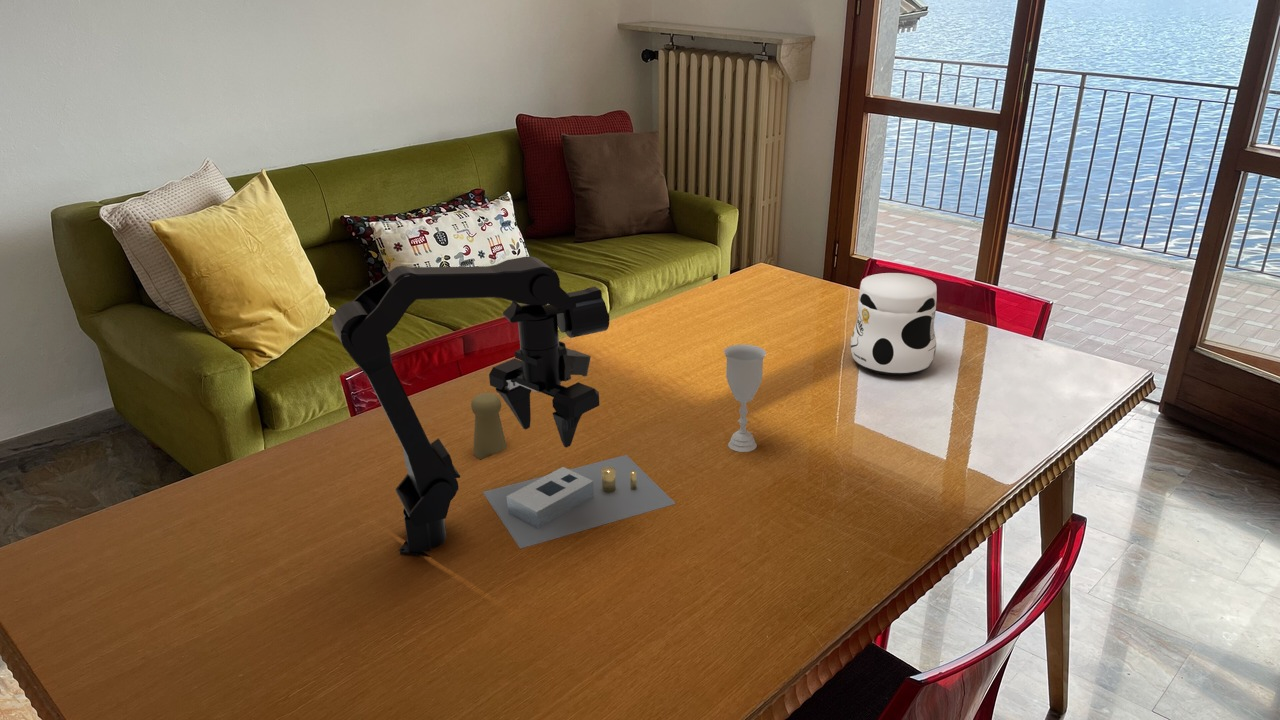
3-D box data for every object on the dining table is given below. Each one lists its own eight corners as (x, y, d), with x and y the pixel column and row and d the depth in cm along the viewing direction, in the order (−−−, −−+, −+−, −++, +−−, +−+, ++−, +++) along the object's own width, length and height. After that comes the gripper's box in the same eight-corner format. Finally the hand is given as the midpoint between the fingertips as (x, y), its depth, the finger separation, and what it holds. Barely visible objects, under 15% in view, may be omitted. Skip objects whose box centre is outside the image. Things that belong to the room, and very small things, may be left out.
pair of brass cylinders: (602, 493, 152) (601, 473, 150) (602, 486, 154) (601, 466, 153) (636, 491, 152) (636, 472, 151) (636, 484, 154) (635, 465, 153)
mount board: (520, 554, 138) (520, 548, 138) (483, 497, 153) (482, 492, 153) (675, 509, 149) (675, 503, 149) (626, 459, 164) (626, 454, 163)
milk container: (834, 355, 204) (839, 276, 197) (904, 345, 209) (912, 267, 202) (876, 387, 189) (883, 302, 182) (950, 375, 194) (960, 292, 187)
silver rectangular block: (538, 529, 143) (536, 512, 142) (508, 512, 147) (506, 496, 146) (594, 497, 151) (593, 481, 150) (564, 482, 155) (563, 466, 154)
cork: (501, 461, 164) (496, 404, 160) (468, 458, 165) (462, 402, 161) (512, 445, 170) (507, 389, 165) (480, 442, 171) (475, 387, 166)
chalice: (715, 449, 167) (717, 355, 160) (730, 433, 172) (732, 341, 165) (754, 457, 164) (757, 363, 156) (768, 441, 169) (772, 348, 162)
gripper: (623, 341, 138) (627, 436, 144) (537, 314, 149) (544, 402, 156) (568, 366, 130) (574, 464, 136) (482, 334, 142) (492, 426, 148)
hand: (546, 437), depth 144 cm, fingers open, 9 cm apart
